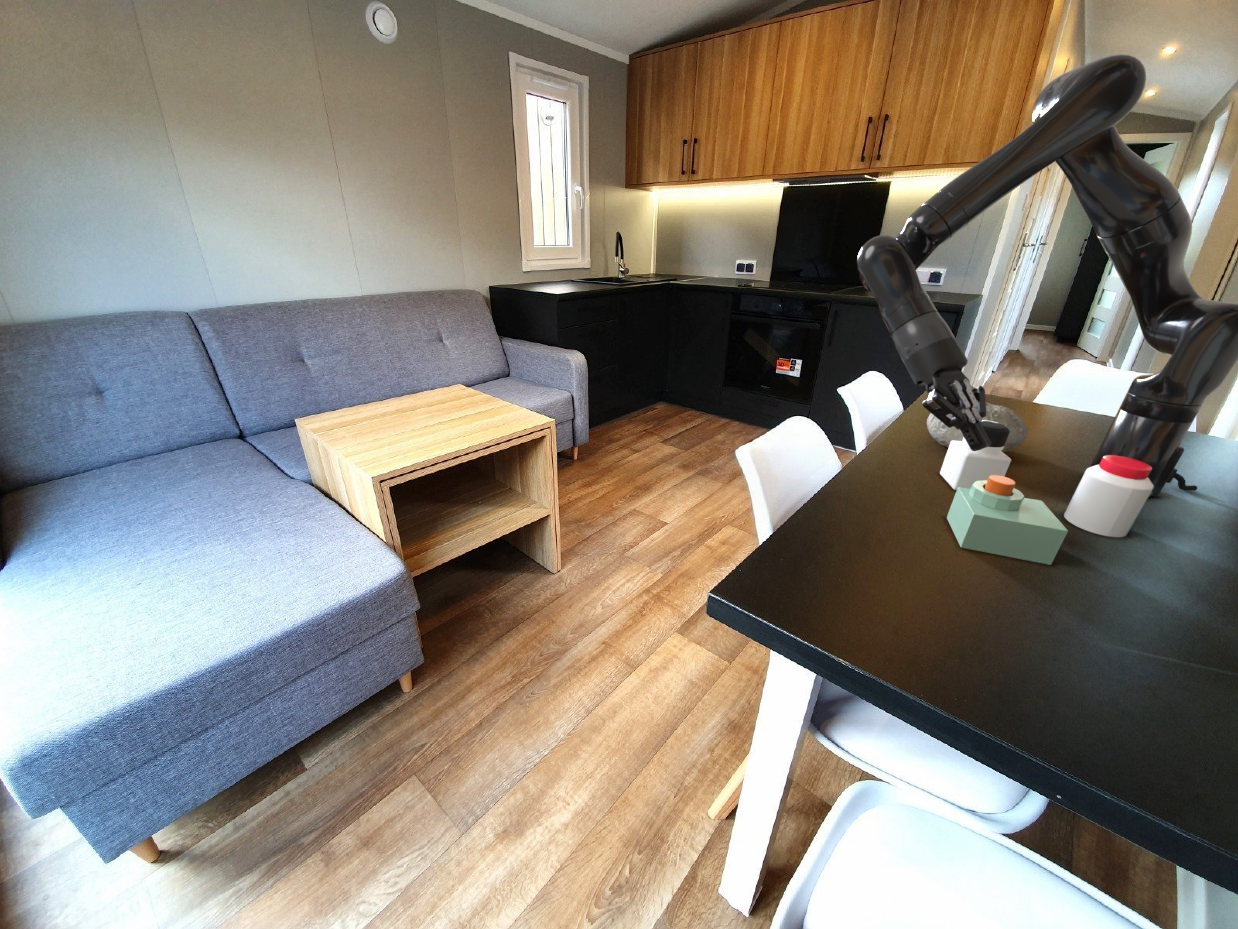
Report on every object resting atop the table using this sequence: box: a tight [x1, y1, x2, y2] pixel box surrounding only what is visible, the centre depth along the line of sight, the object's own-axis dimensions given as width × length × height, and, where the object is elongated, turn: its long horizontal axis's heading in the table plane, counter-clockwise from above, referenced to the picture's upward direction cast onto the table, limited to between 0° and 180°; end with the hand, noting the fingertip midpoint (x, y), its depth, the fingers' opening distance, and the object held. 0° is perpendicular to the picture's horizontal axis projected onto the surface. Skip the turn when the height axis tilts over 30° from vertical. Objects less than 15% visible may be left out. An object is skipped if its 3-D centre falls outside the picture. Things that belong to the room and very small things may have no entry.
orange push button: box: [985, 475, 1016, 496], centre depth 72 cm, size 3×3×2 cm
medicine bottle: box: [939, 420, 1012, 491], centre depth 88 cm, size 7×7×12 cm
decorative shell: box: [926, 402, 1029, 454], centre depth 105 cm, size 18×18×10 cm
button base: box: [946, 480, 1069, 566], centre depth 72 cm, size 11×9×8 cm
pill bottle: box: [1063, 455, 1154, 538], centre depth 76 cm, size 8×8×11 cm
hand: (982, 448), depth 73 cm, fingers closed
